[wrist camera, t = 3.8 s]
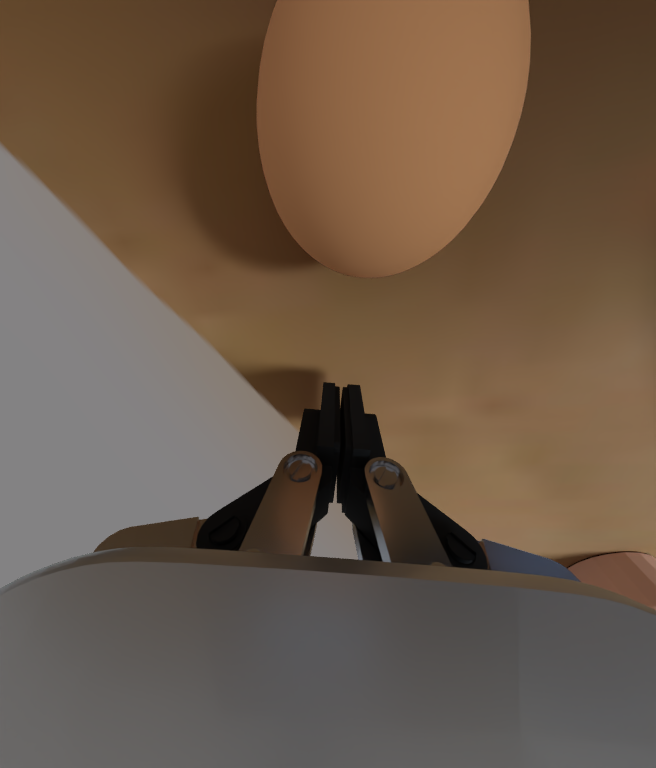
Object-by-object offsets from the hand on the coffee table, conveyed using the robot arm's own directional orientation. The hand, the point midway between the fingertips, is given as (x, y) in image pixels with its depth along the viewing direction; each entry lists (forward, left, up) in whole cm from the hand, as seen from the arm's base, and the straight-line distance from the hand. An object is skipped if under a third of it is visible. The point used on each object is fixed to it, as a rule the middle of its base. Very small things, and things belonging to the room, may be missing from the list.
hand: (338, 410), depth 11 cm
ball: (0, -9, +1) cm, 9 cm away
